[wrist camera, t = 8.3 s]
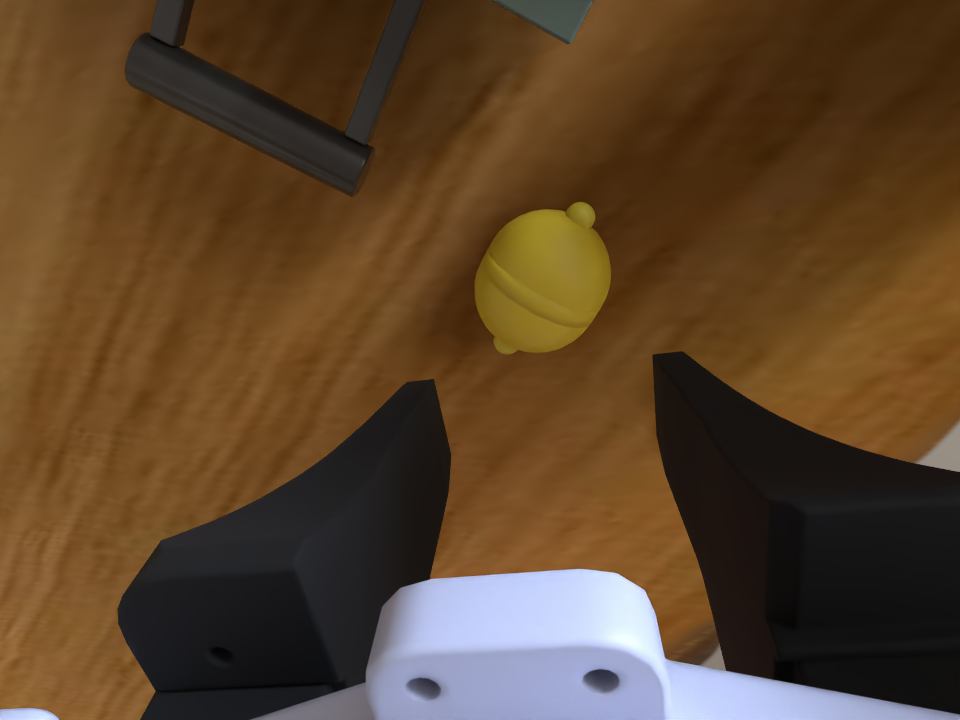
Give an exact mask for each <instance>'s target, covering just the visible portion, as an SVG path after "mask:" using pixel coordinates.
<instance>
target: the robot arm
mask: <svg viewBox="0 0 960 720" xmlns="http://www.w3.org/2000/svg"><path fill="white" fill-rule="evenodd" d="M653 374H654V394H655V414H656V434H657V439H658V444H659V449H660V453H661V458H662V462H663V466H664V470H665V474H666V477H667V480H668V483H669V485H670V488H671V491H672V493H673V496H674V499H675V501H676V504H677V507H678V509H679V512H680V515H681V517H682V520H683V522H684V525H685V528H686V530H687V533H688V536H689V538H690V541H691V544H692V546H693V549H694V551H695V554H696V557H697V560H698V563H699V566H700V569H701V572H702V575H703V579H704V583H705V587H706V591H707V595H708V599H709V603H710V607H711V610H712V614H713V618H714V622H715V627H716V631H717V635H718V639H719V643H720V647H721V651H722V655H723V659H724V664H725V668H726V671H723V670H718V669H714V668H708V667H703V666H697V665H692V664H687V663H681V662H676V661H671V660H667V659H665V657H664V653H663V648H662V643H661V638H660V633H659V628H658V624H657V619H656V614H655V612H654V610H653V607H652V605H651V603H650V601H649V599H648V597H647V594H646V592H645V590H643V589H642V588H640V587H639V586H637V585H635V584H634V583H632V582H630V581H629V580H627V579H625V578H624V577H622V576H620V575H619V574H617V573H611V572H603V571H595V570H587V569H570V570H556V571H541V572H527V573H512V574H497V575H483V576H468V577H454V578H439V579H430V574H431V570H432V565H433V561H434V556H435V552H436V548H437V543H438V539H439V534H440V530H441V525H442V521H443V516H444V511H445V507H446V502H447V497H448V492H449V480H450V466H451V452H450V447H449V443H448V439H447V434H446V430H445V425H444V421H443V417H442V412H441V408H440V404H439V399H438V395H437V390H436V386H435V382H434V379H430V380H421V381H412V382H407V383H406V384H404V385H403V386H402V387H401V388H400V389H399V390H398V391H397V392H396V393H395V394H394V395H393V396H392V397H391V398H390V399H389V400H388V401H387V402H386V403H385V404H384V405H383V406H382V407H381V408H380V409H378V410H377V411H376V412H375V413H374V414H373V415H372V416H371V417H370V418H369V419H368V420H367V421H366V422H365V423H364V424H363V425H362V426H361V427H360V428H359V429H357V430H356V431H355V432H354V433H353V434H352V435H351V436H349V437H348V438H347V439H346V440H345V441H344V442H343V443H341V444H340V445H339V446H338V447H337V448H336V449H334V450H333V451H332V452H331V453H329V454H328V455H327V456H326V457H324V458H323V459H322V460H320V461H319V462H318V463H316V464H315V465H313V466H312V467H310V468H309V469H308V470H306V471H305V472H303V473H302V474H300V475H299V476H297V477H296V478H294V479H292V480H291V481H289V482H287V483H286V484H284V485H282V486H281V487H279V488H277V489H275V490H274V491H272V492H270V493H269V494H267V495H265V496H264V497H262V498H260V499H258V500H256V501H254V502H252V503H250V504H248V505H246V506H244V507H242V508H240V509H238V510H236V511H234V512H232V513H229V514H227V515H225V516H223V517H221V518H218V519H216V520H214V521H211V522H209V523H206V524H204V525H201V526H199V527H196V528H193V529H191V530H188V531H185V532H183V533H180V534H178V535H175V536H172V537H170V538H167V539H164V540H161V541H160V543H159V544H158V546H157V547H156V548H155V550H154V551H153V553H152V554H151V556H150V557H149V558H148V560H147V561H146V563H145V564H144V566H143V567H142V568H141V570H140V571H139V573H138V574H137V576H136V577H135V578H134V580H133V581H132V583H131V584H130V586H129V587H128V588H127V590H126V591H125V593H124V594H123V596H122V598H121V601H120V604H119V607H118V624H119V626H120V629H121V631H122V633H123V636H124V638H125V640H126V643H127V644H128V646H129V648H130V649H131V651H132V653H133V654H134V656H135V658H136V659H137V661H138V662H139V664H140V666H141V667H142V669H143V671H144V672H145V674H146V676H147V677H148V679H149V681H150V682H151V684H152V686H153V687H154V689H155V691H156V692H155V694H154V696H153V697H152V699H151V701H150V703H149V705H148V706H147V708H146V710H145V712H144V714H143V715H142V717H141V719H140V720H960V472H955V471H951V470H946V469H940V468H935V467H929V466H925V465H920V464H914V463H910V462H905V461H901V460H898V459H894V458H890V457H886V456H883V455H879V454H875V453H871V452H868V451H865V450H862V449H858V448H855V447H852V446H849V445H846V444H844V443H841V442H838V441H835V440H833V439H830V438H827V437H824V436H822V435H819V434H817V433H814V432H812V431H809V430H807V429H805V428H803V427H801V426H798V425H796V424H794V423H792V422H790V421H788V420H786V419H784V418H781V417H779V416H778V415H776V414H774V413H772V412H770V411H768V410H766V409H765V408H763V407H761V406H760V405H758V404H756V403H755V402H753V401H751V400H750V399H748V398H746V397H745V396H743V395H742V394H740V393H739V392H737V391H735V390H734V389H733V388H731V387H730V386H728V385H727V384H725V383H724V382H722V381H721V380H720V379H718V378H717V377H716V376H714V375H713V374H711V373H710V372H709V371H708V370H706V369H705V368H704V367H702V366H701V365H700V364H698V363H697V362H696V361H695V360H693V359H692V358H691V357H689V356H688V355H687V354H685V353H684V352H683V351H680V352H671V353H663V354H654V355H653ZM0 720H60V719H59V718H58V717H57V716H56V715H54V714H53V713H51V712H49V711H47V710H44V709H39V708H16V709H0Z"/></svg>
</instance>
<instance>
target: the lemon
mask: <svg viewBox="0 0 960 720" xmlns="http://www.w3.org/2000/svg"><path fill="white" fill-rule="evenodd" d="M594 221H595V213H594V210H593V208H592V207H591V206H590V205H588V204H587V203H584V202H577V203H574V204H572V205H571V206H570V207H569V208H568V209H567V211H566V212H564V211H561V210H550V209H543V210H536V211H531V212H528V213H526V214H523V215H521V216H518V217H517V218H515V219H514V220H512V221H510V222H509V223H507V224H506V225H505V226H504V227H503V228H502V229H501V230H500V231H499V232H498V233H497V235H496V236H495V238H494V239H493V241H492V242H491V244H490V246H489V248H488V249H487V251H486V253H485V255H484V257H483V259H482V261H481V263H480V266H479V268H478V271H477V274H476V279H475V302H476V305H477V309H478V312H479V315H480V317H481V319H482V321H483V323H484V324H485V326H486V327H487V329H488V330H489V331H490V332H491V333H492V334H493V335H494V346H495V348H496V349H497V350H498V351H499V352H500V353H502V354H512V353H514V352H516V351H517V350H521V351H524V352H530V353H544V352H549V351H553V350H557V349H560V348H562V347H564V346H566V345H568V344H570V343H572V342H573V341H574V340H576V339H577V338H578V337H579V336H581V335H582V334H583V332H584V331H585V330H586V329H587V328H588V326H589V325H590V324H591V322H592V321H593V319H594V318H595V316H596V315H597V313H598V312H599V310H600V309H601V306H602V305H603V303H604V301H605V299H606V297H607V294H608V290H609V287H610V281H611V266H610V259H609V255H608V252H607V249H606V247H605V244H604V242H603V241H602V239H601V238H600V236H599V235H598V233H597V232H596V231H595V230H594V229H593V228H592V226H593V224H594Z"/></svg>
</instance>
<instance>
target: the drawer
mask: <svg viewBox="0 0 960 720" xmlns="http://www.w3.org/2000/svg"><path fill="white" fill-rule="evenodd" d="M426 1H427V0H395V1H394V4H393V6H392V9H391V12H390V14H389V17H388V19H387V22H386V25H385V27H384V30H383V33H382V35H381V38H380V41H379V43H378V46H377V49H376V51H375V54H374V56H373V59H372V62H371V64H370V67H369V70H368V72H367V75H366V78H365V80H364V83H363V86H362V88H361V91H360V93H359V96H358V99H357V101H356V104H355V107H354V109H353V112H352V115H351V117H350V120H349V122H348V125H347V128H346V130H345V132H343V131H341V130H339V129H338V128H336V127H334V126H332V125H330V124H328V123H326V122H324V121H322V120H320V119H318V118H316V117H314V116H312V115H310V114H309V113H307V112H305V111H303V110H301V109H299V108H297V107H295V106H293V105H291V104H289V103H287V102H285V101H283V100H281V99H279V98H278V97H276V96H274V95H272V94H270V93H268V92H266V91H264V90H262V89H260V88H258V87H256V86H254V85H252V84H250V83H249V82H247V81H245V80H243V79H241V78H239V77H237V76H235V75H233V74H231V73H229V72H227V71H225V70H223V69H221V68H220V67H218V66H216V65H214V64H212V63H210V62H208V61H206V60H204V59H202V58H200V57H198V56H196V55H194V54H192V53H191V52H189V51H187V50H185V49H183V48H181V47H179V46H183V45H184V41H185V37H186V33H187V29H188V25H189V21H190V17H191V13H192V8H193V4H194V0H157V3H156V8H155V12H154V17H153V21H152V26H151V30H150V32H146V33H143V34H141V35H140V36H139V37H138V38H137V39H136V40H135V42H134V43H133V45H132V47H131V49H130V51H129V54H128V57H127V60H126V66H125V76H126V80H127V82H128V84H129V85H130V86H131V87H133V88H135V89H137V90H139V91H141V92H143V93H144V94H146V95H148V96H150V97H152V98H154V99H156V100H158V101H160V102H162V103H164V104H166V105H168V106H170V107H172V108H174V109H176V110H178V111H180V112H182V113H184V114H186V115H188V116H190V117H192V118H194V119H196V120H198V121H200V122H202V123H204V124H206V125H208V126H210V127H212V128H214V129H216V130H218V131H220V132H222V133H224V134H226V135H228V136H230V137H232V138H234V139H236V140H238V141H240V142H242V143H244V144H246V145H248V146H250V147H252V148H254V149H256V150H258V151H260V152H262V153H264V154H266V155H268V156H270V157H272V158H274V159H276V160H278V161H280V162H282V163H284V164H286V165H288V166H290V167H292V168H294V169H296V170H298V171H300V172H302V173H304V174H306V175H308V176H310V177H312V178H314V179H316V180H318V181H320V182H322V183H324V184H326V185H328V186H330V187H332V188H334V189H336V190H338V191H340V192H342V193H344V194H346V195H348V196H350V197H354V196H355V195H356V194H357V193H358V192H359V190H360V188H361V187H362V185H363V183H364V181H365V179H366V177H367V174H368V172H369V170H370V167H371V165H372V162H373V159H374V156H375V148H374V147H372V146H370V145H368V143H369V142H370V141H371V139H372V136H373V134H374V131H375V129H376V126H377V124H378V121H379V119H380V116H381V114H382V111H383V109H384V106H385V104H386V101H387V99H388V96H389V94H390V91H391V89H392V86H393V84H394V81H395V79H396V76H397V74H398V71H399V69H400V66H401V64H402V61H403V59H404V56H405V54H406V51H407V49H408V46H409V44H410V41H411V39H412V36H413V34H414V31H415V29H416V26H417V24H418V21H419V19H420V16H421V14H422V11H423V9H424V6H425V4H426ZM491 1H492V2H494V3H496V4H498V5H499V6H501V7H503V8H505V9H506V10H508V11H510V12H512V13H513V14H515V15H517V16H519V17H520V18H522V19H524V20H526V21H527V22H529V23H531V24H533V25H534V26H536V27H538V28H539V29H541V30H543V31H545V32H546V33H548V34H550V35H552V36H553V37H555V38H557V39H559V40H560V41H562V42H564V43H566V44H571V43H572V42H573V40H574V38H575V36H576V34H577V32H578V30H579V28H580V26H581V24H582V22H583V20H584V18H585V16H586V14H587V12H588V10H589V8H590V6H591V5H592V3H593V1H594V0H491Z"/></svg>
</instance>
